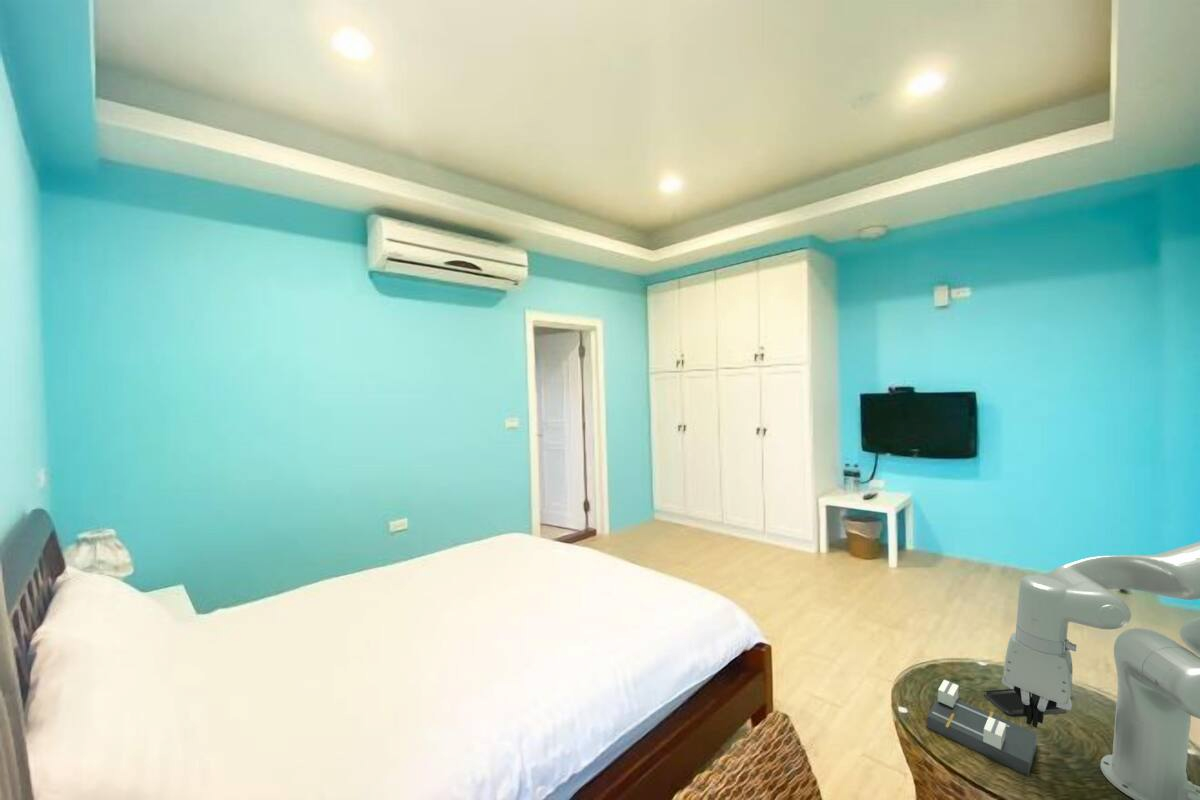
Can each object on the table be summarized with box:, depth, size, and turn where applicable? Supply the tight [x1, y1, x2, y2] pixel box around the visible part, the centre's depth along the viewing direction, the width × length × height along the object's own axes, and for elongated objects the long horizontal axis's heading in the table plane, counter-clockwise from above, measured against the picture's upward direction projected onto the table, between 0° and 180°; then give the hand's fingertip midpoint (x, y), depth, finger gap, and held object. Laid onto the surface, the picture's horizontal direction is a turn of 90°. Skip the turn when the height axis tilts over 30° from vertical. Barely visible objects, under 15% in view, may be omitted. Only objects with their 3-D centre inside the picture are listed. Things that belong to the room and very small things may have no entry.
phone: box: [983, 688, 1067, 718], centre depth 120 cm, size 8×1×15 cm
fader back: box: [937, 679, 960, 708], centre depth 117 cm, size 3×5×3 cm, turn 132°
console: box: [926, 697, 1038, 777], centre depth 110 cm, size 18×13×3 cm
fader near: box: [983, 717, 1006, 750], centre depth 105 cm, size 3×5×3 cm, turn 132°
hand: (1032, 722), depth 100 cm, fingers closed
